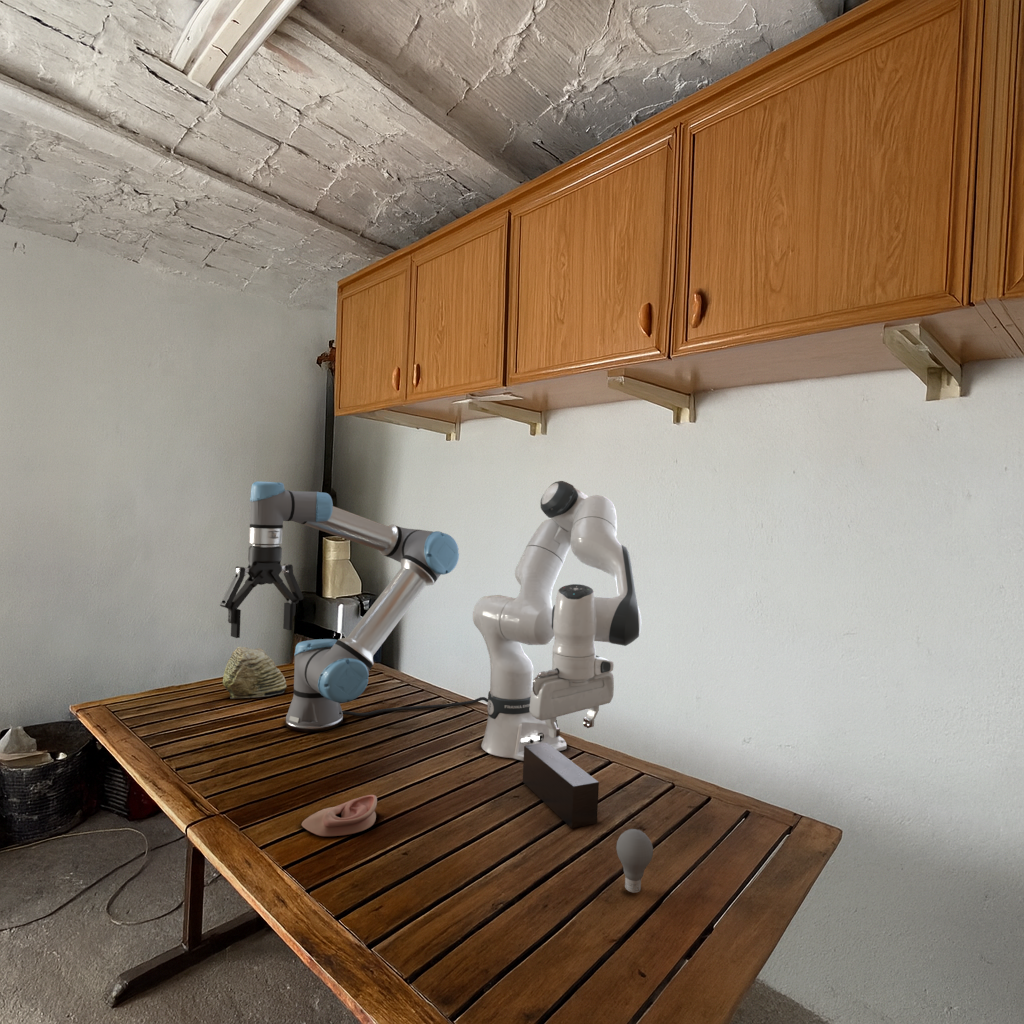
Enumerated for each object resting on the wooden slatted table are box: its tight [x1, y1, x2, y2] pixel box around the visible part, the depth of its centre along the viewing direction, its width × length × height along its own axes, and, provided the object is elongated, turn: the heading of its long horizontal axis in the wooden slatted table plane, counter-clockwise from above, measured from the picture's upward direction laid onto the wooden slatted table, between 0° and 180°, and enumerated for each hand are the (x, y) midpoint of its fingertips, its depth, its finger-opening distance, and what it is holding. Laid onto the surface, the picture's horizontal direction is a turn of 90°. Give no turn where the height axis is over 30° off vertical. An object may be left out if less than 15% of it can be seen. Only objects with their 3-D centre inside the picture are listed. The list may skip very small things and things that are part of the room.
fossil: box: [222, 646, 288, 699], centre depth 198 cm, size 9×18×15 cm, turn 132°
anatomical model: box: [301, 794, 378, 837], centre depth 123 cm, size 13×4×12 cm
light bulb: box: [615, 828, 654, 894], centre depth 106 cm, size 6×6×10 cm
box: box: [522, 742, 600, 829], centre depth 136 cm, size 22×6×8 cm, turn 25°
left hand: (262, 633), depth 153 cm, fingers open, 13 cm apart
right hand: (571, 731), depth 130 cm, fingers open, 8 cm apart
